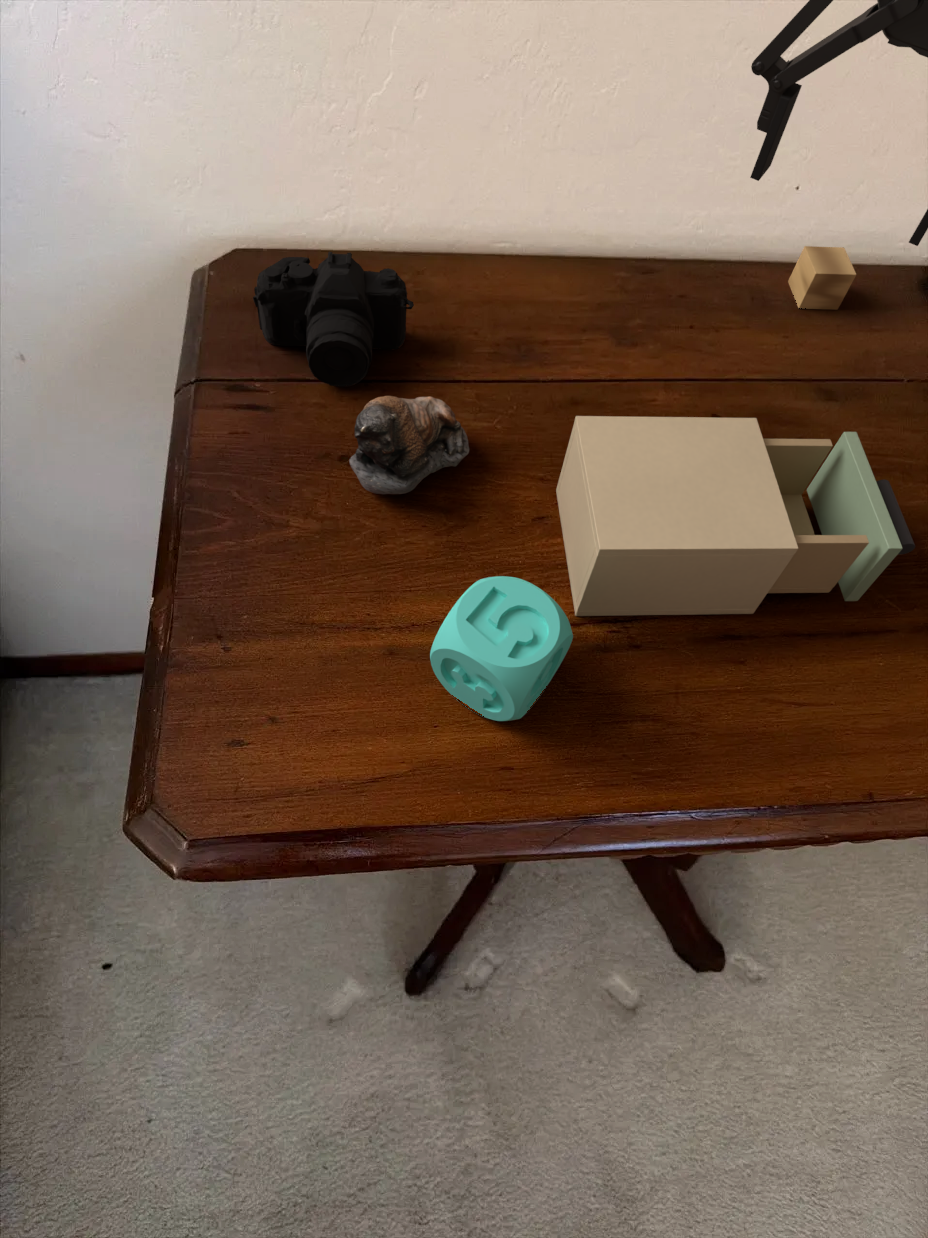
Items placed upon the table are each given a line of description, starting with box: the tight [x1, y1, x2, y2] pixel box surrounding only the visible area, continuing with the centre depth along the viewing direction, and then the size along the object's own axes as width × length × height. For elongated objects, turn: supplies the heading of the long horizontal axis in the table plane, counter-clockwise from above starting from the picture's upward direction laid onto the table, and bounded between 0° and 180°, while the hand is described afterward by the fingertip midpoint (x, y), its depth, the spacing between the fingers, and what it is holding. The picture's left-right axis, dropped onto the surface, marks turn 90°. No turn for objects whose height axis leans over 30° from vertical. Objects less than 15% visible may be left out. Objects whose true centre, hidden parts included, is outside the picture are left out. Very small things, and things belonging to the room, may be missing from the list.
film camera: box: [252, 251, 415, 388], centre depth 84 cm, size 15×10×9 cm, turn 92°
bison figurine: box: [348, 395, 470, 495], centre depth 76 cm, size 12×7×10 cm, turn 136°
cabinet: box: [555, 415, 798, 617], centre depth 74 cm, size 16×14×10 cm
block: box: [787, 245, 857, 311], centre depth 97 cm, size 5×5×5 cm
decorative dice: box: [429, 575, 574, 722], centre depth 67 cm, size 8×8×8 cm
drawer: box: [763, 431, 916, 602], centre depth 75 cm, size 18×12×8 cm
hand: (837, 203), depth 72 cm, fingers open, 13 cm apart
